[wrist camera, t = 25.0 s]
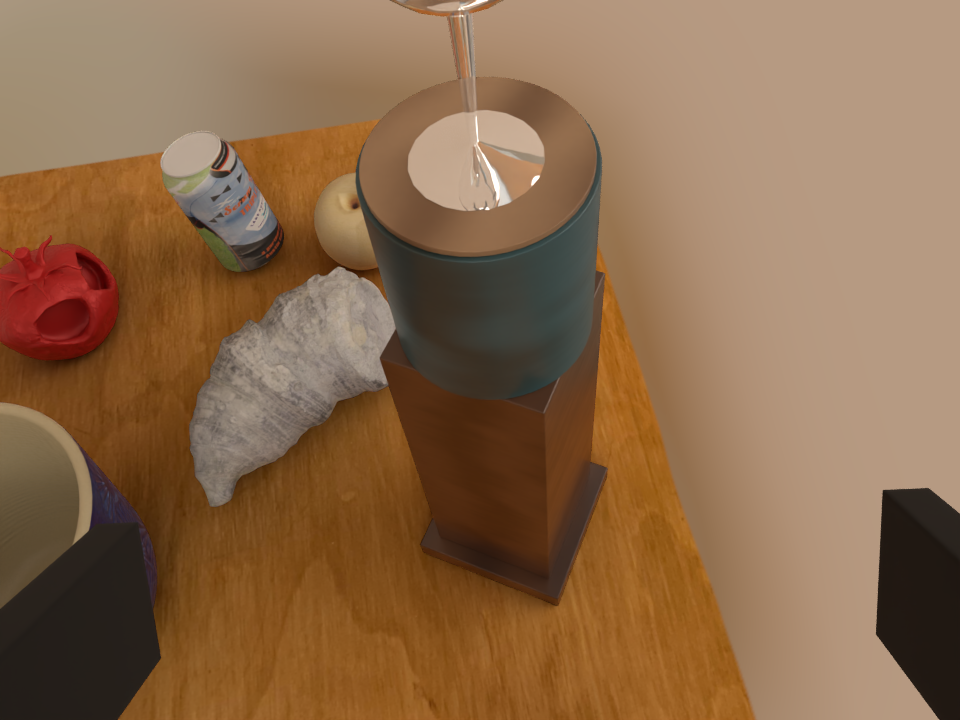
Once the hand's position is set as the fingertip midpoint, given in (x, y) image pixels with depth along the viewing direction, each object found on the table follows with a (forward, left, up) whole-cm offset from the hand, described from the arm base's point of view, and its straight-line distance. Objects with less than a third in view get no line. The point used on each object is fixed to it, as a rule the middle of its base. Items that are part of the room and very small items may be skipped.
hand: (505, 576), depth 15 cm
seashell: (+26, -18, -43) cm, 53 cm away
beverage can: (+39, -30, -43) cm, 65 cm away
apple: (+29, -34, -43) cm, 62 cm away
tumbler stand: (+8, -16, -43) cm, 46 cm away
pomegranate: (+49, -18, -43) cm, 68 cm away
